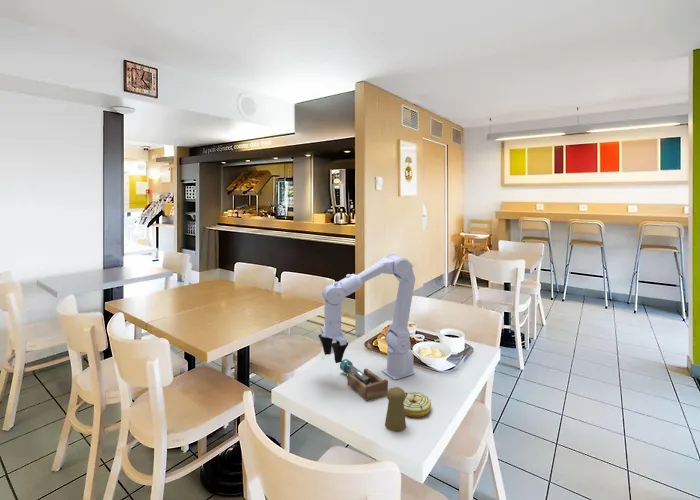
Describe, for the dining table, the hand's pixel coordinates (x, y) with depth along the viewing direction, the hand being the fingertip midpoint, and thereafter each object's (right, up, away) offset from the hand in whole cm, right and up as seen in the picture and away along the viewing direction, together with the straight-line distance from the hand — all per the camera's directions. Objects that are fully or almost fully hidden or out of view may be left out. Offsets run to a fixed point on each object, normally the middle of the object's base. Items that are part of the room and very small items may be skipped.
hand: (332, 358), depth 131 cm
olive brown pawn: (+19, -13, -22) cm, 32 cm away
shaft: (+8, -8, +4) cm, 12 cm away
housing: (+12, -10, -3) cm, 16 cm away
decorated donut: (+25, -12, -13) cm, 31 cm away
